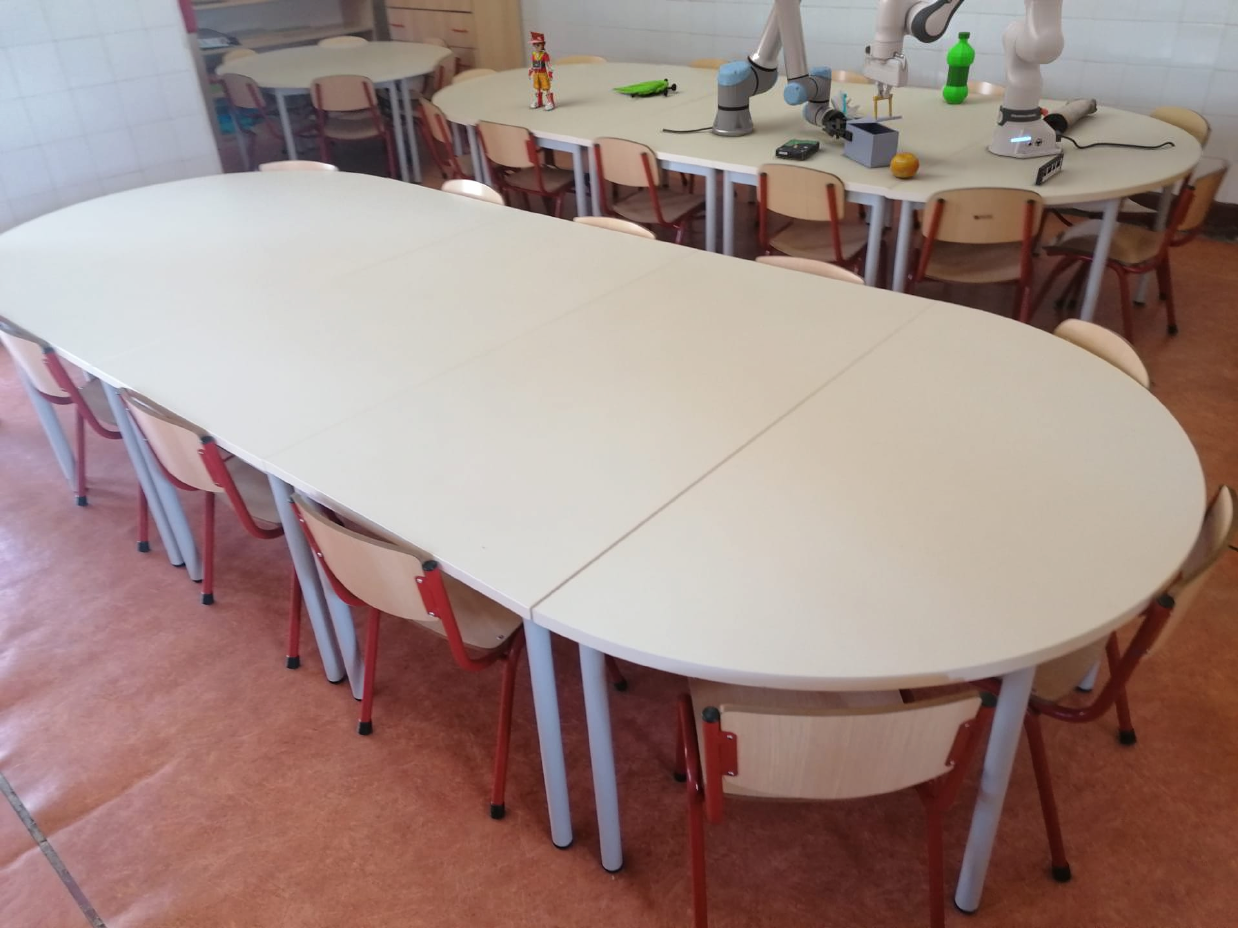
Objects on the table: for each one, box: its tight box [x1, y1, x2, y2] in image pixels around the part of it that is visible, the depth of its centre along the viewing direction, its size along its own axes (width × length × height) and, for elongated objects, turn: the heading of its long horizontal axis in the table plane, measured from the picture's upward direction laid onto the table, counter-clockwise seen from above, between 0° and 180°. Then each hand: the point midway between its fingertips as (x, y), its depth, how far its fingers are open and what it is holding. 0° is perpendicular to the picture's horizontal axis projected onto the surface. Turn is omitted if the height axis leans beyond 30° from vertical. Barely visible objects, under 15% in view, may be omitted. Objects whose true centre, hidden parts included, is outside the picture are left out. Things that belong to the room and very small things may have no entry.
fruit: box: [889, 152, 920, 179], centre depth 281 cm, size 8×8×8 cm
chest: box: [843, 122, 900, 169], centre depth 297 cm, size 17×9×10 cm, turn 18°
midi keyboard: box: [1035, 153, 1065, 186], centre depth 273 cm, size 18×1×5 cm, turn 138°
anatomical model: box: [830, 89, 865, 120], centre depth 343 cm, size 15×10×10 cm
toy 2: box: [612, 78, 677, 99], centre depth 396 cm, size 28×5×30 cm
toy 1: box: [527, 31, 556, 111], centre depth 374 cm, size 12×9×30 cm
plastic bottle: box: [942, 31, 976, 104], centre depth 348 cm, size 10×10×25 cm
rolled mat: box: [1042, 97, 1098, 135], centre depth 320 cm, size 30×9×10 cm
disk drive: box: [774, 138, 821, 161], centre depth 308 cm, size 10×3×15 cm
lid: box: [847, 93, 903, 123], centre depth 291 cm, size 18×9×8 cm, turn 18°
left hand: (864, 135), depth 299 cm, fingers closed on chest, 9 cm apart
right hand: (882, 97), depth 285 cm, fingers closed on lid
